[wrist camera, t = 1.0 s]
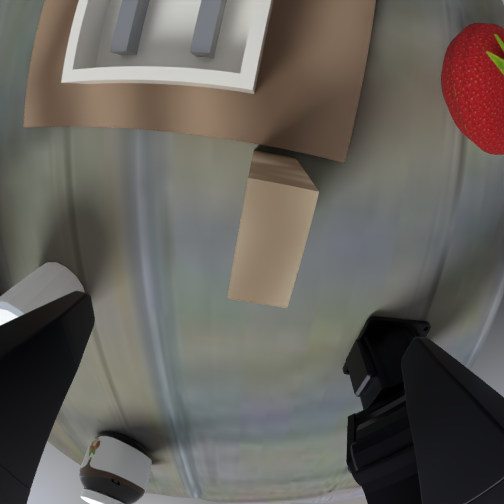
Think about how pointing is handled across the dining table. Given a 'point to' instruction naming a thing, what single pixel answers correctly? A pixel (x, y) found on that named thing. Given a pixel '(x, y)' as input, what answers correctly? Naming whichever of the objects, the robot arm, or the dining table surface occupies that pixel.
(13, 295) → the white cup
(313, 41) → the brown slab
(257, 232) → the tan cardboard-colored prism
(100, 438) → the spread jar
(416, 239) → the dining table surface
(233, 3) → the white rectangular tray
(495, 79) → the strawberry
